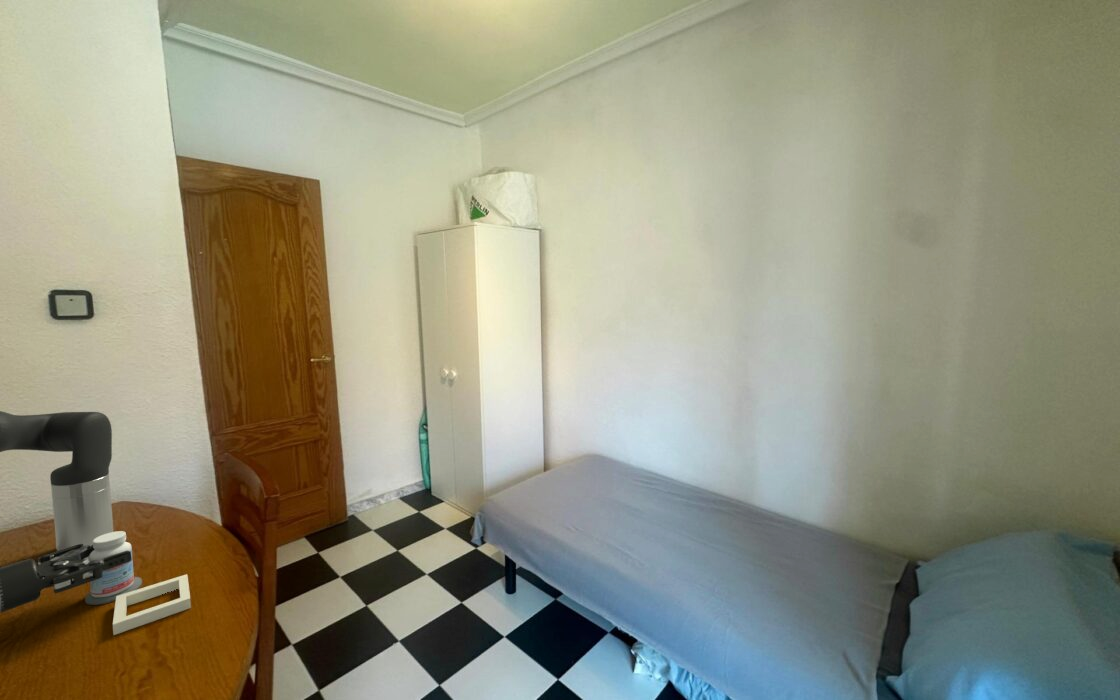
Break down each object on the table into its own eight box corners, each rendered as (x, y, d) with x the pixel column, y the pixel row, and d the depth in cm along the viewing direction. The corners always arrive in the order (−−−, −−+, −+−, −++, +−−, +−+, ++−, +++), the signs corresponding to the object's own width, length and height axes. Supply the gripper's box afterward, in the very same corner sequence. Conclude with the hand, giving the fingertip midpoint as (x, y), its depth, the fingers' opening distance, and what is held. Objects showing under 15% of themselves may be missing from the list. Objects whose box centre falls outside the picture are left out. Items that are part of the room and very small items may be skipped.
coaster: (87, 590, 87) (87, 588, 87) (142, 574, 92) (142, 572, 92) (83, 610, 81) (82, 607, 81) (141, 592, 87) (141, 589, 87)
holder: (117, 605, 83) (116, 596, 82) (187, 583, 90) (187, 574, 90) (113, 635, 75) (112, 624, 75) (190, 607, 82) (190, 598, 82)
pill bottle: (106, 601, 83) (101, 546, 82) (82, 596, 84) (78, 542, 83) (142, 582, 89) (138, 530, 88) (120, 578, 90) (116, 527, 89)
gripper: (-2, 585, 70) (134, 541, 84) (-15, 558, 77) (112, 522, 91) (3, 628, 70) (136, 577, 84) (-11, 597, 78) (114, 555, 92)
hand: (123, 548), depth 88 cm, fingers open, 8 cm apart
